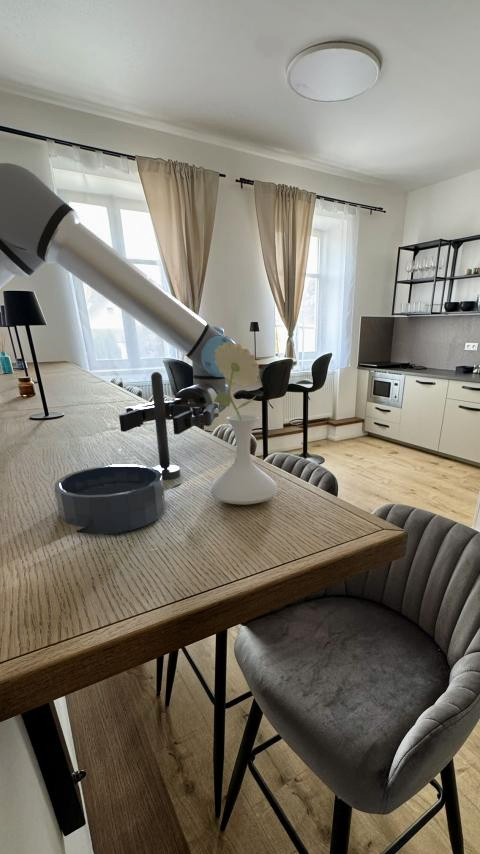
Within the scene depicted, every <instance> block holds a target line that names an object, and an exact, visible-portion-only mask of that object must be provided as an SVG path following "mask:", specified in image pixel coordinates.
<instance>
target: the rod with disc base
mask: <svg viewBox="0 0 480 854" xmlns="http://www.w3.org/2000/svg"><path fill="white" fill-rule="evenodd" d="M150 380H151V381H150V382H151V392H152V402H154V412H155V420H154V422H155V429H156V430H155V432H156V442H157V452H158V461H159V465H156V466H153V467H152V468H154V469H156V470H159V472H160V473H161V474H162V478H163V481H170V480H175V479H178V478H180V477H181V468H180V466H178V465H175V464H171V461H170V460H171V459H170V450H169V440H168V439H169V438H168V437H169V436H168V429H167V420H166V415H165V404H164V402H165V395H164V384H163V383H164V381H163V375H162V374H161V373H160V372H159V371H154V372H153V373H152V374H151V375H150ZM180 486H181V483H179V484H176V485H175V486H172V487H171V489H174V488H177V487H180Z"/></svg>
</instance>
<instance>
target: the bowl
mask: <svg viewBox="0 0 480 854" xmlns="http://www.w3.org/2000/svg"><path fill="white" fill-rule="evenodd" d="M53 486H54V493H55V498H56V503H57V508H58V513H59V518H60V519H61V520H62V521H64V522H65V523H66V524H69V525H73V526H76V527H82V528H79V529H77V530H76V531H74V532H75V533H78V534H86V535H87V534H88V535H106V534H107V535H108V534H117V533H123V532H127V531H128V532H129V531H133V530H136V529H140V528H142V527H145V526H147V525H149V524H151V523H154V522H155V521H157V520H159V519H160V518H161V517H162V516H163V515H164V514H165V511H166V499H165V490H164V480H163V478H162V474H161V473H160V472H159V470H156V469H154V468H153V467H151V466H145V465H140V464H139V465H138V464H111V465H101V466H94V467H90V468H85V469H80V470H76V471H75V472H70V473H67V474H66V475H64V476H62V477H60V478H59V479H58V480H57V481H56V482H55V483H54V485H53Z"/></svg>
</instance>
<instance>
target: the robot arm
mask: <svg viewBox="0 0 480 854" xmlns="http://www.w3.org/2000/svg"><path fill="white" fill-rule="evenodd" d="M45 263H46V264H47V265H56V264H58V265H59V266H60V267H62V268H63V269H65V270H66V271H68V272H69V273H70V274H71V275H73V276H74V277H76V278H77V279H78V280H80V281H81V282H82V283H84V284H86V285H87V286H88V287H90V288H91V289H93V290H94V291H95V292H96V293H98V294H100V295H101V296H102V297H103V298H104V299H106V300H107V301H109V302H111V303H112V304H113V305H114V306H115V307H117V308H119V309H120V310H122V312H124V313H125V314H127V315H128V316H130V317H132V318H133V319H134V320H135V321H137V322H138V323H140V324H141V325H143V326H144V327H145V328H146V329H148V330H149V331H151V332H152V333H153V334H154V335H156V336H158V337H159V338H160V339H162V340H163V341H165V342H166V343H167V344H169V345H170V346H172V347H173V348H174V349H176V350H177V351H178V352H180V353H181V354H183V355H184V356H185V357H187V358H188V359H189V360H190V361H191V362H192V372H193V373H192V374H193V375H192V376H193V377H192V378H193V385H191V386H189V387H186V388H183V389H181V390H179V391H178V392H177V393H176V394H175V396H174V398H173V399H171V400H168V401H167V400H165V401H164V404H165V415H166V421H172V426H173V435H180V434H182V433H184V432H185V431H187V430H189V429H191V428H192V427H194V426H195V427H199V426H201V424H203V426H206V427H210V426H212V424H213V422H214V420H215V418H218V417H219V413H221V412H223V411H224V410H226V408H227V406H224V405H222V404H220V403H216V402H214V400H215V398H216V396H217V395H218V393H220V392H221V393H223V394H225V395H227V396H228V397H229V394H228V389H229V385H227V378H225V377H224V376H223V373H221V372H220V371H219V367H218V366H217V365H216V364H215V360H216V359H215V355H216V354H215V349H217V347H218V346H223V343H228V342H231V343H232V344H234V345H235V346H236V344H237V343H236V342H235V341H234V340H233V339H231V338H230V337H229V336H226V335H225V330H224V328H223V327H221V326H211V325H210V324H208V323H207V322H206V320H204V319H203V318H202V317H200V316H199V315H198V314H197V313H195V312H194V311H193V310H192V309H190V308H188V307H187V306H186V305H185V304H184V303H182V302H181V301H180V300H179V299H178V298H176V297H175V296H174V295H172V294H171V293H170V292H168V291H167V290H166V289H165V288H163V287H162V286H161V285H160V284H159V283H157V282H156V281H155V280H153V279H152V278H151V277H149V276H148V275H147V274H146V273H144V272H143V271H142V270H140V268H138V267H137V266H135V264H133V263H132V262H130V260H128V259H127V258H125V257H124V256H123V255H122V254H120V253H119V252H118V251H117V250H116V249H114V248H113V247H112V246H110V245H109V244H108V243H106V241H104V240H102V239H101V238H100V237H99V236H98V235H96V233H94V232H92V231H91V230H90V229H89V228H87V227H86V226H85V225H84V224H82V223H81V221H80V218H79V214H78V212H77V211H76V210H75V209H74V208H72V207H71V206H70V205H69V204H67V203H66V202H65V201H64V200H63V199H62V198H61V197H60V196H58V195H57V194H56V193H55V192H54V191H53V190H52V189H51V188H49V186H48V185H46V184H45V183H44V181H43V180H42V179H41V178H40V177H38V176H37V175H36V174H35V173H33V172H31V171H30V170H29V169H27V168H26V167H23V166H21V165H19V164H16V163H11V162H0V290H1V289H2V288H4V287H5V286H6V285H7V284H8V283H9V282H10V281H11V280H12V279H13V278H14V277H25V278H29V277H31V275H33V274H34V273H35V272H36V271H37V270H38V269H40V267H42V266H43V265H44V264H45ZM230 393H231V394H232V391H230ZM118 418H119V426H120V432H122V433H123V432H128V431H131V430H133V429H135V428H141V427H142V426H143V425H144V423H146V422H147V423H148V422H151V421H155V412H154V402H153V401H151V402H147V403H143V404H138V405H134V406H128V407H125V412H124V413H121V414H119V415H118Z"/></svg>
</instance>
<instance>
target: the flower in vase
mask: <svg viewBox="0 0 480 854" xmlns="http://www.w3.org/2000/svg"><path fill="white" fill-rule="evenodd" d="M215 354H216V355H215V359H216V360H215V364H216V365H217V366H218V367H219V371H220V372H221V373H223V376H224V377H225V378H226V380H228V381H229V382H228V387H229V389H228V394H229V397H228V396H227V395H225V394H223V393H221V392H220V393H218V395H217V396H216V398H215V400H214V402H216V403H220V404H222V405H224V406H227V407H228V408H229V407H230V405H231V404H232V407H233V409H234V411H235V413H236V414H233V415H228V416H226V420H227V421H228V422H229V424H230V426H231V428H232V430H233V435H234V438H235V448H236V450H235V451H236V453H235V455H236V456H235V460H234V463H233V464H232V465H231V466H230V467H229V468H228V469H227V470H225V471H224V472H223V473H222V474H220V475H219V476H218V477H216V479H215V480H214V481H213V482H212V483H211V485H210V488H209V491H210V494H211V496H213V498H214V499H216V500H218V501H220V502H222V503H227V504H231V505H241V506H242V505H253V504H259V503H263V502H266V501H268V500H270V499H272V498H273V497H274V496H275V495H276V494H277V493H278V486H277V483H276V481H274V479H272V477H270V476H269V475H268V474H267V473H265V472H264V471H263V470H262V469H260V468H259V467H258V466H256V465H255V463H254V462H253V460H252V456H251V439H252V433H253V428H254V426H255V424H256V423H257V421H258V420H259V417H258V416H257V415H254V414H253V415H252V414H240V412H239V410H238V409H241V408H243V407H245V406H247V405H249V404H250V403H251V402H252V401H254V399H256V398H257V395H255V396H254V397H253V398H250V399H248V400H246V401H244V402H243V403H241V404H240V405H239V406H238V407H237V406H236V404H235V401H234V400H233V397H232V392H231V389H232V383H235V384H236V385H237V386H239V387H240V386H242V387H245V388H247V387H248V386H252V385H253V384H257V383H258V382H259V378H258V377H260V376H259V374H260V373H259V372H260V368H259V365H260V364H259V363H258V362H257V361H256V356H255V355H254V354H250V350H249V349H248V348H243V346H242V344H241V343H236V346H235V345H234V344H232V343H231V342H228V343H223V346H218V347H217V349H215ZM230 392H231V393H230ZM227 407H226V408H227Z"/></svg>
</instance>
